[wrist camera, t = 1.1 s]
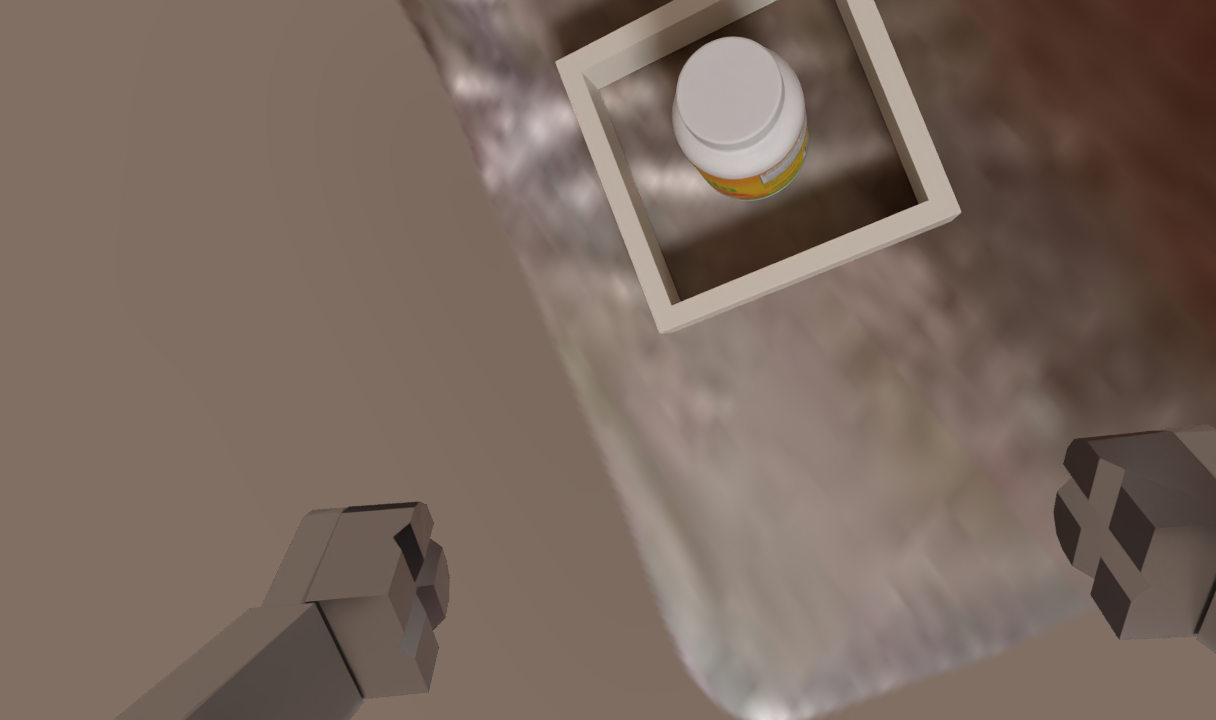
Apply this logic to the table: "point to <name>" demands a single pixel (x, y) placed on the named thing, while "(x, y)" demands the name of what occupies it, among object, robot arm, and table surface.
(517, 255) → the table surface
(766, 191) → the supplement bottle
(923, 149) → the bin
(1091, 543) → the robot arm
